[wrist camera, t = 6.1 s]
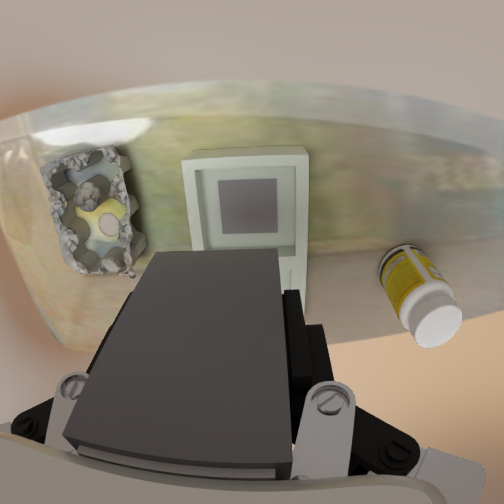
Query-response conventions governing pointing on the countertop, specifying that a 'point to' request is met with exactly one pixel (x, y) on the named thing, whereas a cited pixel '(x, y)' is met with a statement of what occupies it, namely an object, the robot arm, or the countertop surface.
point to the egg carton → (88, 200)
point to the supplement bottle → (420, 296)
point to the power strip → (251, 204)
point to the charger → (194, 372)
